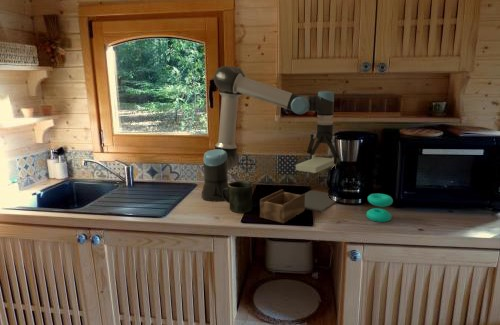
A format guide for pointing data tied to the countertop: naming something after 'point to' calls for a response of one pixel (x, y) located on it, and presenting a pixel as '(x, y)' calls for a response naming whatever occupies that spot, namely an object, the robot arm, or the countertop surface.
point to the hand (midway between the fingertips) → (323, 168)
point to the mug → (239, 196)
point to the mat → (317, 201)
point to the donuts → (377, 213)
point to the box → (282, 206)
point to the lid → (314, 164)
